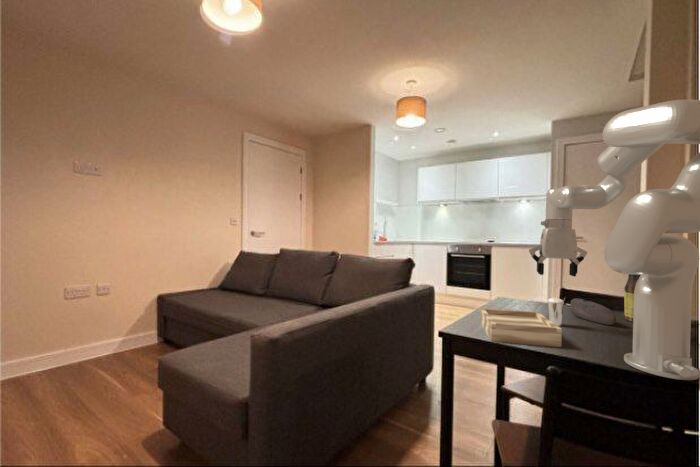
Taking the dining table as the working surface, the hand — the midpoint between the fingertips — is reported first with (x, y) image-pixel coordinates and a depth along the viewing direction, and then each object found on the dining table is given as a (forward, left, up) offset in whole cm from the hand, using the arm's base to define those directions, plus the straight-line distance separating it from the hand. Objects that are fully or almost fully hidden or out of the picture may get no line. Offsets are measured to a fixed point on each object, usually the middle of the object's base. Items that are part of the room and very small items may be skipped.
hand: (556, 275), depth 106 cm
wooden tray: (-14, +16, -18) cm, 27 cm away
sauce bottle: (+12, -30, -17) cm, 37 cm away
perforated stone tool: (+8, -15, -17) cm, 25 cm away
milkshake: (-1, 0, -17) cm, 17 cm away
